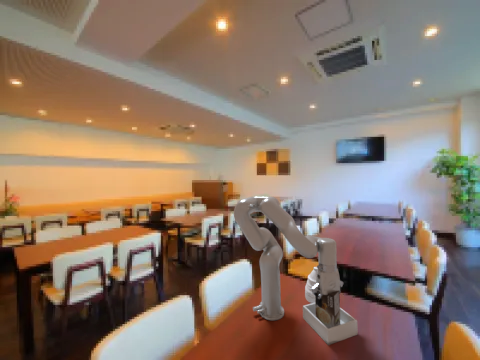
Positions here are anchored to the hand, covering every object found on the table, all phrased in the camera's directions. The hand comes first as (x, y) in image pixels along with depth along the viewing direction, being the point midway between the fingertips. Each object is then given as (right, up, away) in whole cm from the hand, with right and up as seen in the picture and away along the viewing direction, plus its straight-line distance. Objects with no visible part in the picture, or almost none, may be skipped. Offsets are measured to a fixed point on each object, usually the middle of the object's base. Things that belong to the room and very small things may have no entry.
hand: (327, 303), depth 92 cm
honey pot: (+3, -10, +21) cm, 23 cm away
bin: (+1, -10, 0) cm, 10 cm away
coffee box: (0, -10, 0) cm, 10 cm away
